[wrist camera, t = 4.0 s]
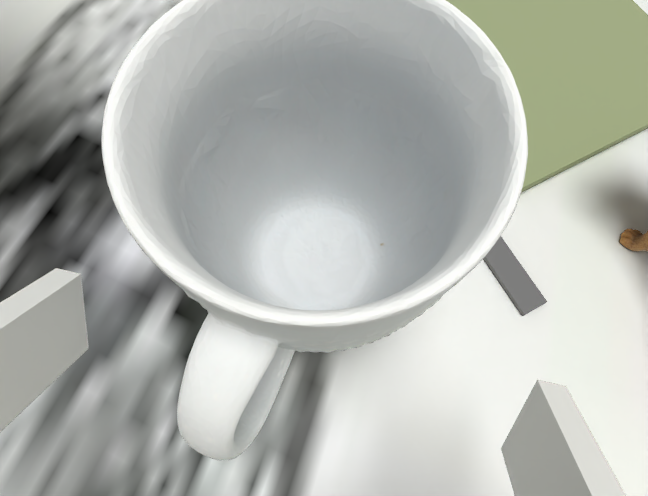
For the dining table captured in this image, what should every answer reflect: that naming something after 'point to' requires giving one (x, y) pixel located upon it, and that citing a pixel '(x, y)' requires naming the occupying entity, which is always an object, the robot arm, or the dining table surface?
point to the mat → (570, 73)
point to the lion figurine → (634, 240)
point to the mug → (307, 179)
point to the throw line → (513, 278)
